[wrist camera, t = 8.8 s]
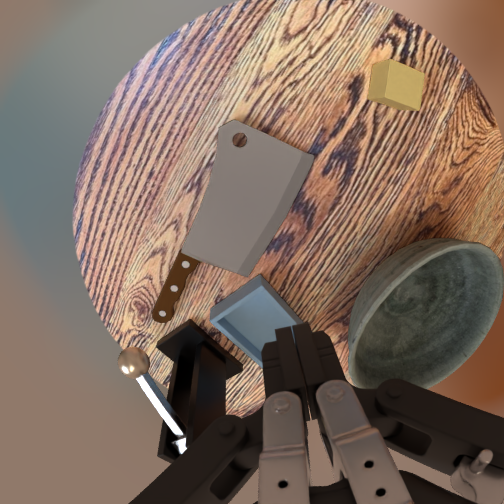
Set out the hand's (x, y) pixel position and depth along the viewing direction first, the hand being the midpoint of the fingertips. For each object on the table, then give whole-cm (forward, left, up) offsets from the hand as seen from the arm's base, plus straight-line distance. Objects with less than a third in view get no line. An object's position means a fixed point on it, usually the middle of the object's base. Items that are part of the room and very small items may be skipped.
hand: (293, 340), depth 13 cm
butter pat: (-3, +19, -19) cm, 27 cm away
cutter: (+10, -17, -19) cm, 28 cm away
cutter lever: (+7, -17, -9) cm, 21 cm away
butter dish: (+11, -8, -19) cm, 24 cm away
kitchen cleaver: (0, -5, -20) cm, 20 cm away
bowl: (+19, +8, -20) cm, 29 cm away
